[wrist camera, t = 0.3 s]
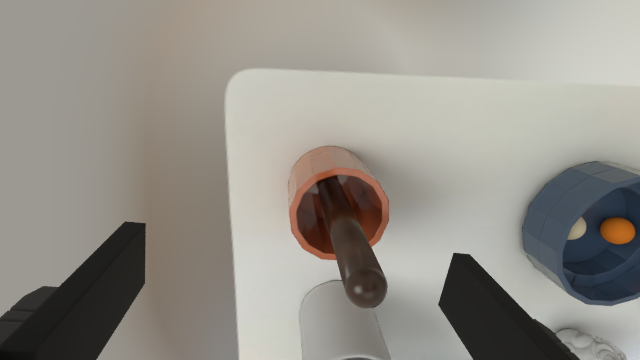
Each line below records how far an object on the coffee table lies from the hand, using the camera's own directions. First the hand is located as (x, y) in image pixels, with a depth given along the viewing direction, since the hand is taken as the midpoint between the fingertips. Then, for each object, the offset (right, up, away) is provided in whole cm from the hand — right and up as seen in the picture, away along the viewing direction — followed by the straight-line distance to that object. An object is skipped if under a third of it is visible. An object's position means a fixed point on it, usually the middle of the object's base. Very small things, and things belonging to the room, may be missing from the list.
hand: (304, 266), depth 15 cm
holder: (+2, +3, +22) cm, 22 cm away
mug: (+3, -13, +27) cm, 30 cm away
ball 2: (+34, -2, +24) cm, 41 cm away
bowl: (+30, -1, +26) cm, 40 cm away
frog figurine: (+32, -16, +31) cm, 48 cm away
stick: (+2, +3, +21) cm, 21 cm away
